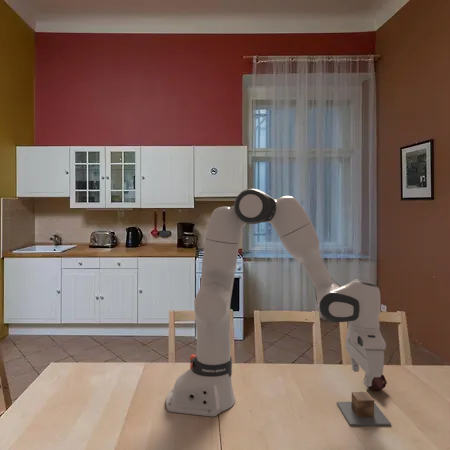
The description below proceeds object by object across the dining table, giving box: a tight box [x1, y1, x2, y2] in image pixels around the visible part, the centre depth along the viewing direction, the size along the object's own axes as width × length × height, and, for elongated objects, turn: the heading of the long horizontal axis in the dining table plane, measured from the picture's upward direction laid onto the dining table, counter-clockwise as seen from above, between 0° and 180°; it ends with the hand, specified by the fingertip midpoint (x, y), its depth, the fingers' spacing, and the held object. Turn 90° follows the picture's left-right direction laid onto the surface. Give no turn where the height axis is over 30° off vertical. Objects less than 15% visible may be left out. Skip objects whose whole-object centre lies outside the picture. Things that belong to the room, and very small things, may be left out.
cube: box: [351, 391, 375, 417], centre depth 109 cm, size 5×5×5 cm
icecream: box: [364, 374, 388, 392], centre depth 124 cm, size 7×7×15 cm
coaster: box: [336, 401, 392, 427], centre depth 109 cm, size 12×12×1 cm
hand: (361, 377), depth 109 cm, fingers open, 8 cm apart
